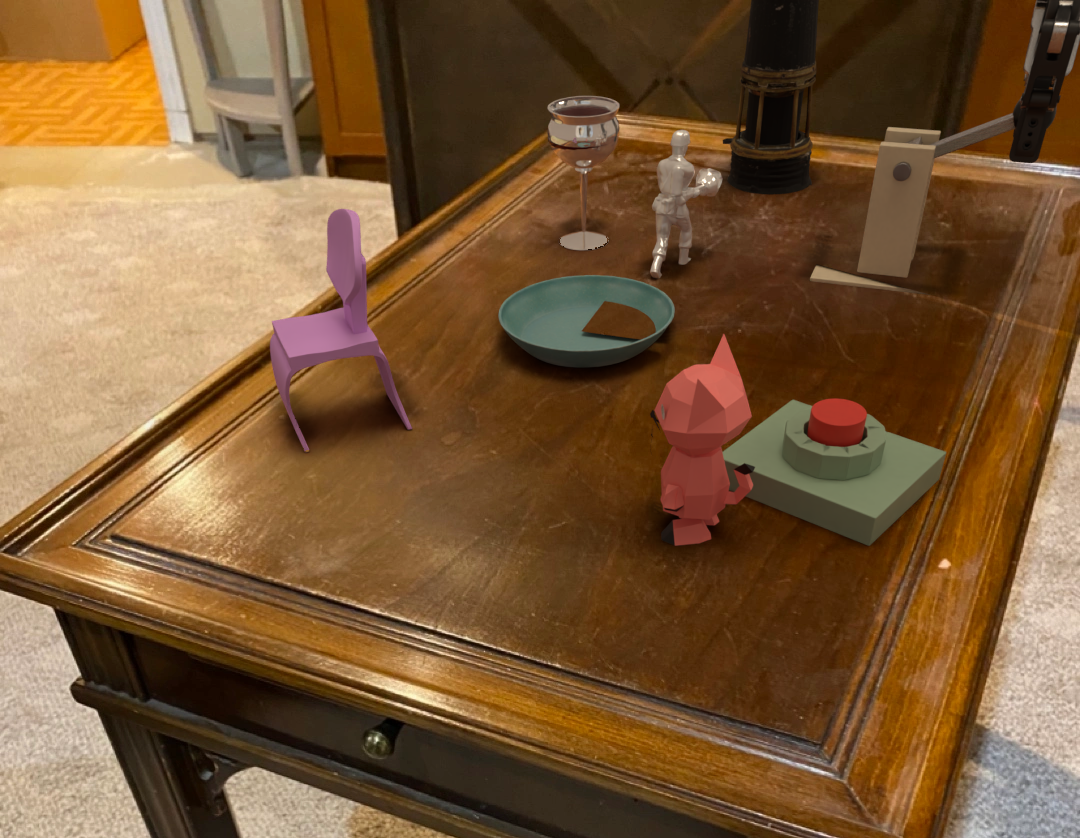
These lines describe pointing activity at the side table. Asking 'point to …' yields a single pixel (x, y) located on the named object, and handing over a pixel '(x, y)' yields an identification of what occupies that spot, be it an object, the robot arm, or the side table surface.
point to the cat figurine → (701, 445)
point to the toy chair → (332, 320)
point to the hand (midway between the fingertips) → (1024, 149)
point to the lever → (978, 133)
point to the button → (837, 422)
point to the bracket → (892, 211)
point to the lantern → (775, 98)
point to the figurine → (678, 199)
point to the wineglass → (583, 149)
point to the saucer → (580, 319)
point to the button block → (834, 473)
